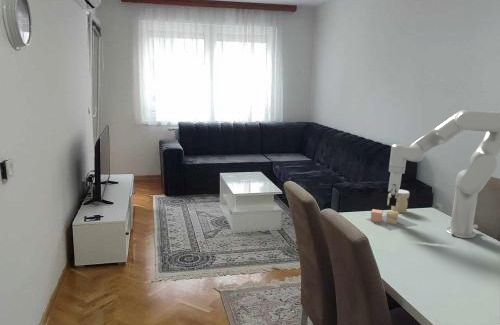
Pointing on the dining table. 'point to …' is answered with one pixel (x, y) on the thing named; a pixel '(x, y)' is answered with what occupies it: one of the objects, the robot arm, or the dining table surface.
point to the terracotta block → (376, 215)
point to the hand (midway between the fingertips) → (392, 203)
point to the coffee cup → (402, 201)
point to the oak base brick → (391, 217)
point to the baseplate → (400, 224)
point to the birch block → (396, 200)
